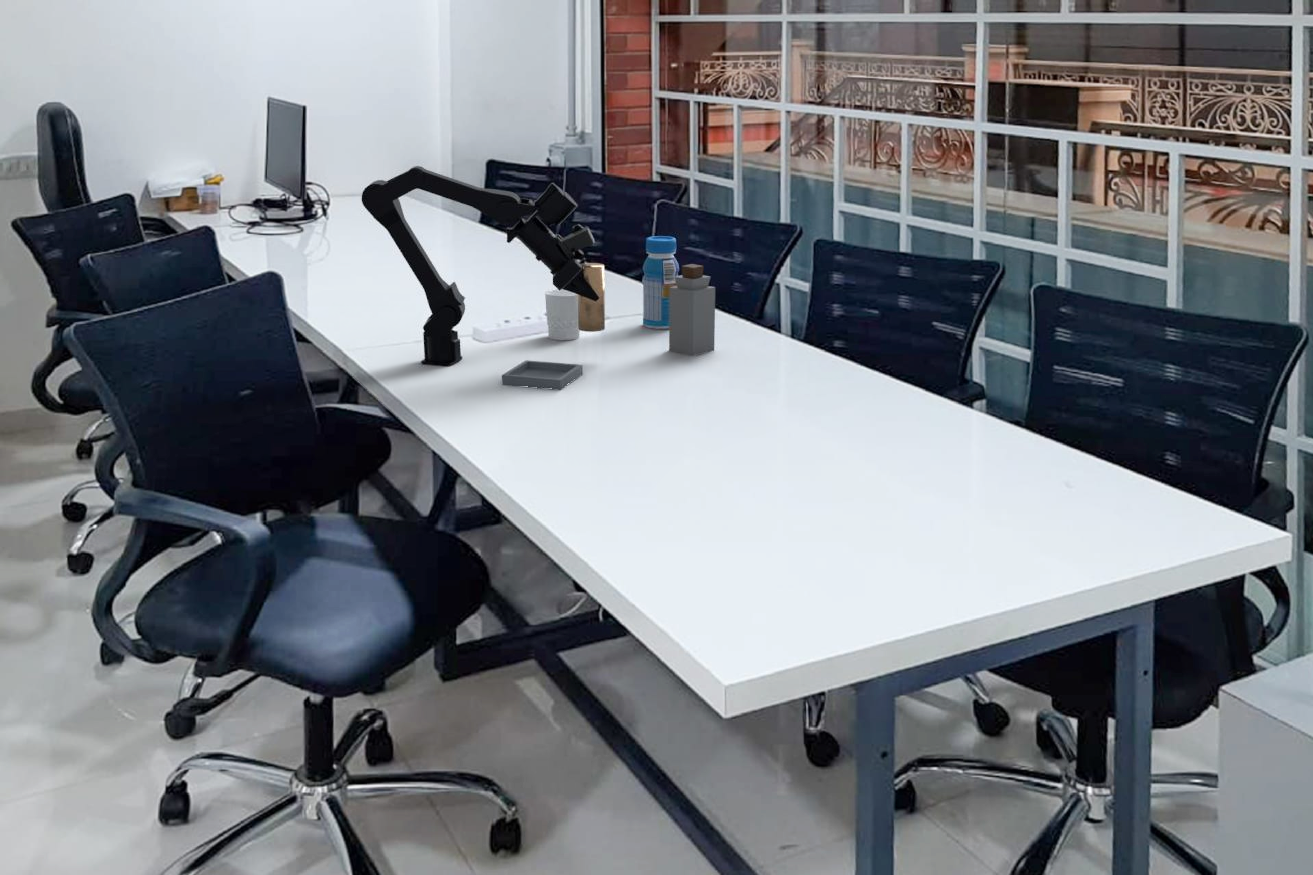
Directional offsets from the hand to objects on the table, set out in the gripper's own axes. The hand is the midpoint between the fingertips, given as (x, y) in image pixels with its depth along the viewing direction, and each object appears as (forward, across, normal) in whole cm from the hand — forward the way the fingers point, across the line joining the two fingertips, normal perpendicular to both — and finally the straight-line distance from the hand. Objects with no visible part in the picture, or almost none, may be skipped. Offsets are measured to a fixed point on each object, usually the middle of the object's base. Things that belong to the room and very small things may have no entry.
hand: (598, 296), depth 279 cm
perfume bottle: (+23, +9, -4) cm, 25 cm away
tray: (+2, -15, +17) cm, 23 cm away
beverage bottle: (+19, +32, 0) cm, 37 cm away
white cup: (+4, +21, +15) cm, 26 cm away
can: (+4, 0, +6) cm, 7 cm away
